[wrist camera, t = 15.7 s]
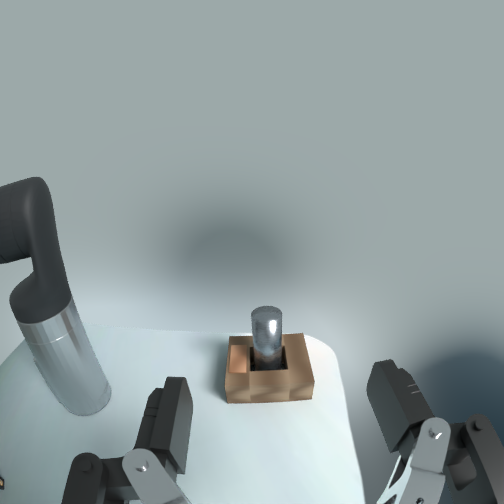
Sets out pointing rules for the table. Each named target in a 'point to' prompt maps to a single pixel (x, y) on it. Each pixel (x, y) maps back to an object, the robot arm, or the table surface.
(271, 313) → the barrel peg
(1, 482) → the ammunition clip
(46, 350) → the robot arm
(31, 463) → the table surface
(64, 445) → the table surface
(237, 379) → the block
